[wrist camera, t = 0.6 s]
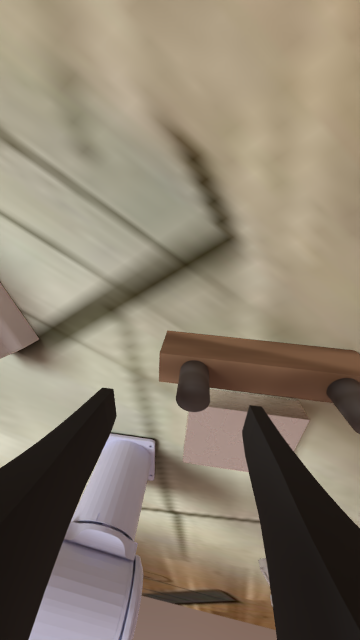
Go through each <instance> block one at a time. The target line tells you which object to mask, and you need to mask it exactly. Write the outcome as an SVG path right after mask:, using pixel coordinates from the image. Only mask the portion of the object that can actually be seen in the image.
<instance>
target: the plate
mask: <svg viewBox="0 0 360 640" xmlns="http://www.w3.org/2000/svg"><path fill="white" fill-rule="evenodd" d="M249 405H253V406H262V408H263V409H264V410H265V412H266V413H267V415H268V416H269V418H270V419H271V421H272V422H273V424H274V425H275V426H276V428H277V429H278V431H279V432H280V434H281V435H282V436H283V438H284V439H285V441H286V442H287V443H288V445H289V446H290V447H291V449H292V450H293V451H294V450H295V448H296V446H297V444H298V442H299V440H300V438H301V436H302V434H303V432H304V430H305V428H306V426H307V424H308V422H309V418H308V416H307V415H306V413H305V411H304V409H303V408H302V406H301V404H300V403H299V401H298V400H294V399H286V398H278V397H270V396H262V395H254V394H246V393H238V392H230V391H222V390H214V389H210V404H209V406H208V407H207V408H206V409H205V410H203V411H200V412H189V411H188V415H187V424H186V432H185V441H184V452H183V462H185V463H192V464H199V465H205V466H212V467H219V468H225V469H232V470H239V471H245V472H249V471H248V466H247V462H246V458H245V452H244V445H243V437H242V430H243V426H244V423H245V419H246V415H247V412H248V408H249Z"/></svg>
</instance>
